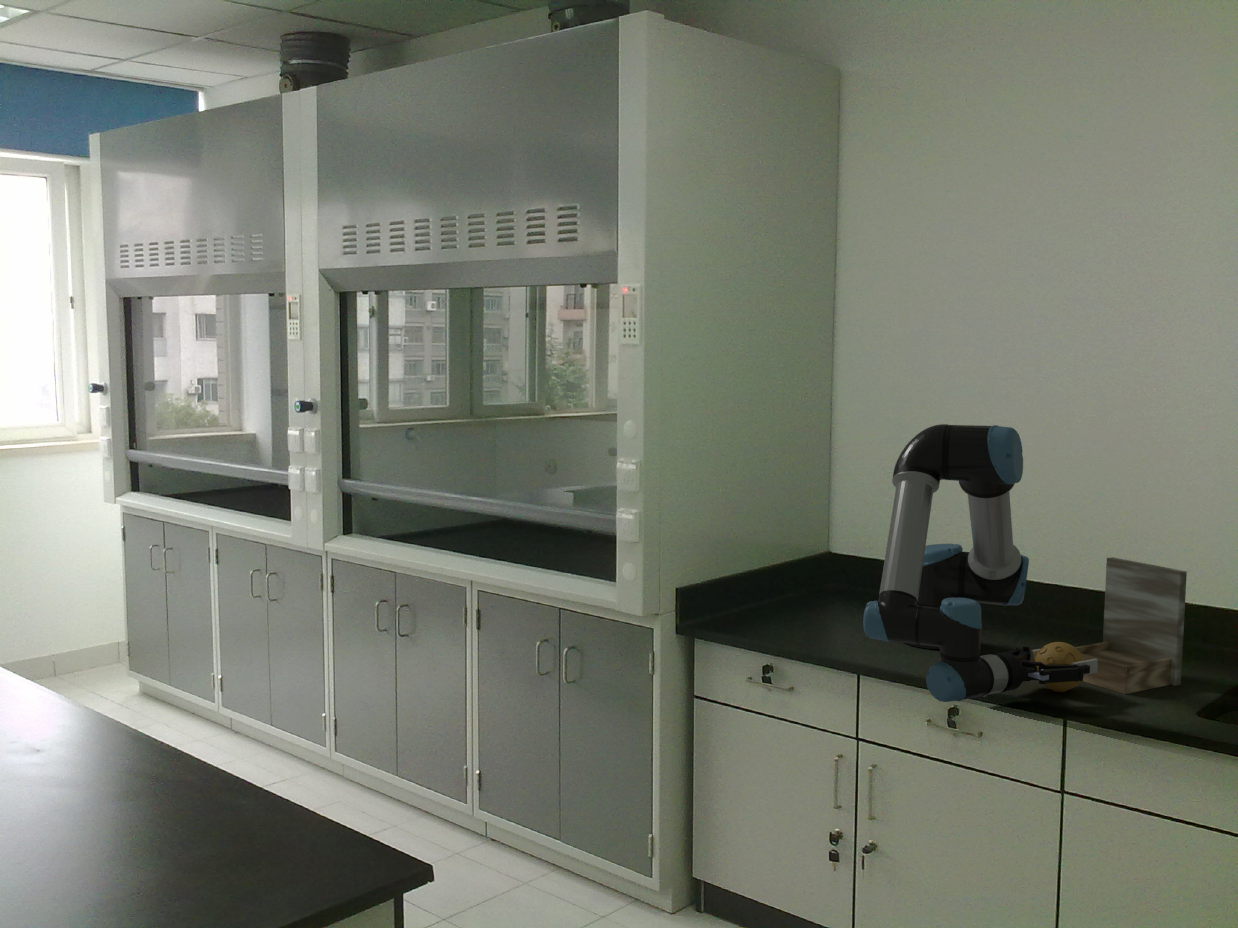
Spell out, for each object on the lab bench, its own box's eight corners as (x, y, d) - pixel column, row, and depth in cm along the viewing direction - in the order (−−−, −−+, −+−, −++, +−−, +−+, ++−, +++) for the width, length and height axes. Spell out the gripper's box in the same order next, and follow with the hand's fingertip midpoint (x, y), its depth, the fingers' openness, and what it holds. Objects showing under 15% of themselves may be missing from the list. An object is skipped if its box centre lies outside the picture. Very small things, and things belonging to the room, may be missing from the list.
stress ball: (1058, 686, 243) (1021, 655, 243) (1093, 656, 239) (1056, 624, 240) (1062, 708, 234) (1024, 675, 234) (1099, 676, 230) (1060, 643, 231)
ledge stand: (1129, 695, 234) (1134, 578, 232) (1057, 673, 250) (1062, 563, 247) (1180, 684, 242) (1186, 571, 239) (1107, 663, 257) (1112, 557, 255)
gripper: (953, 677, 238) (1030, 663, 249) (1040, 707, 219) (1120, 691, 229) (954, 641, 238) (1032, 629, 248) (1041, 668, 218) (1122, 654, 228)
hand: (1074, 659), depth 239 cm, fingers closed on stress ball, 10 cm apart
